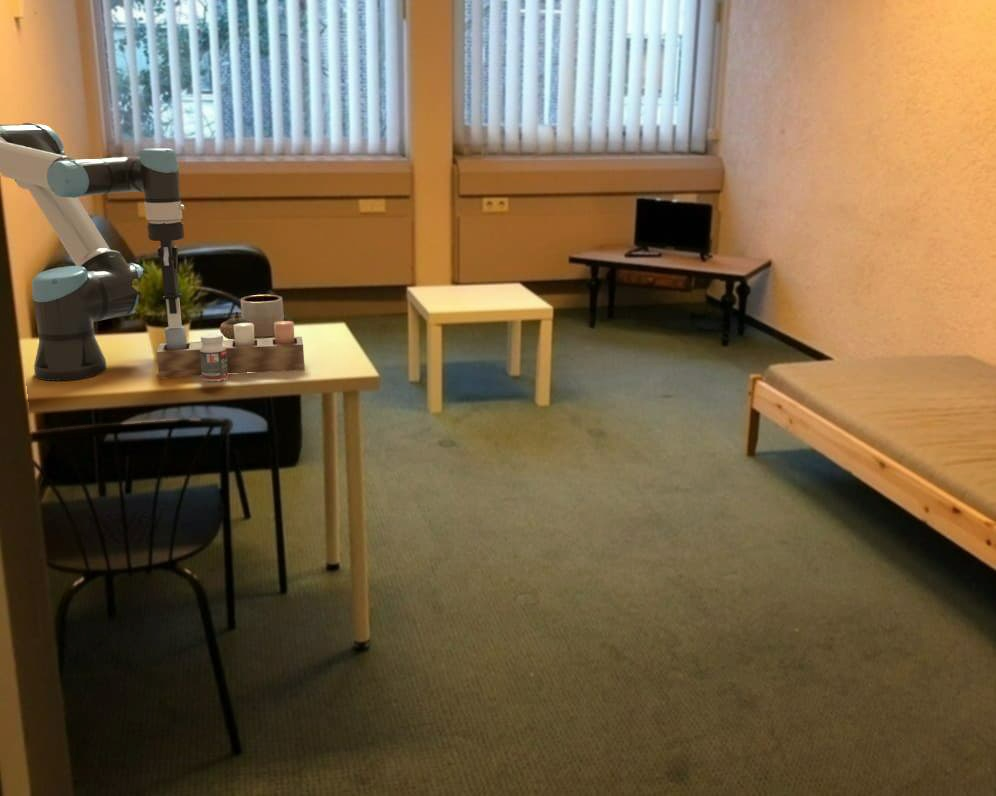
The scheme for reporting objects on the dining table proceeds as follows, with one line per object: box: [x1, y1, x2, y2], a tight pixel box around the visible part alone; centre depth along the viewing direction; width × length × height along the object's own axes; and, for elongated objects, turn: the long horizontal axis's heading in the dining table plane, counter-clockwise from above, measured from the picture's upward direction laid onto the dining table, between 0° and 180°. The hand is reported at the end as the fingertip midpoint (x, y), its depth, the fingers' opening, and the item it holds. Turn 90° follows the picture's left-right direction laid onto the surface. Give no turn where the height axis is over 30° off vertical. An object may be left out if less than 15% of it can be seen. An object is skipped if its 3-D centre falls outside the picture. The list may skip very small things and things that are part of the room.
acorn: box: [219, 311, 255, 340], centre depth 248 cm, size 8×8×10 cm
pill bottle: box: [200, 332, 229, 382], centre depth 223 cm, size 6×6×10 cm
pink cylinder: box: [274, 320, 295, 345], centre depth 233 cm, size 4×4×6 cm
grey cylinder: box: [164, 325, 187, 350], centre depth 228 cm, size 4×4×6 cm
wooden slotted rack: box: [156, 336, 305, 378], centre depth 232 cm, size 32×8×6 cm, turn 103°
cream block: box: [234, 323, 256, 347], centre depth 231 cm, size 4×4×6 cm
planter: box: [240, 294, 285, 339], centre depth 266 cm, size 11×11×10 cm
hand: (175, 326), depth 227 cm, fingers closed
